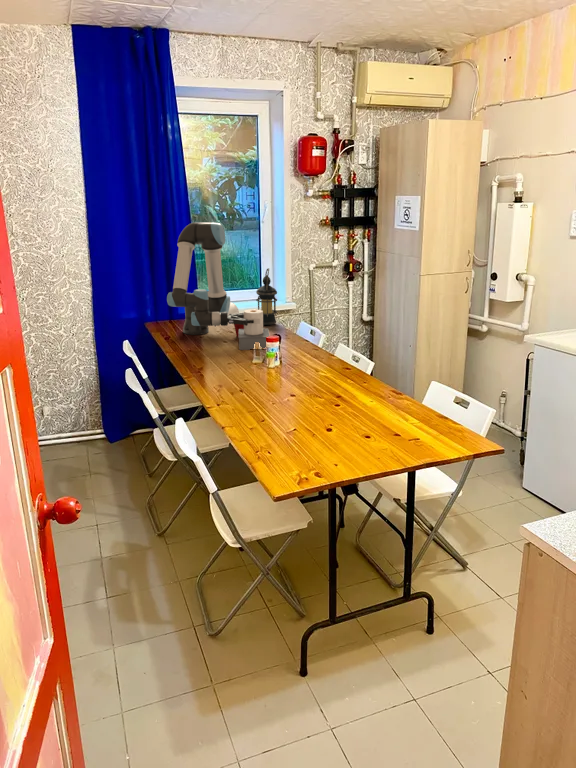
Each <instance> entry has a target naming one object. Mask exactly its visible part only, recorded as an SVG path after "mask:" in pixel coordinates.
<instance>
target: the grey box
mask: <svg viewBox="0 0 576 768" xmlns="http://www.w3.org/2000/svg"><path fill="white" fill-rule="evenodd" d="M268 336H270V331H269V328H263V333H262V334H259V335H248V334H245V333H244V329H239V336H238V337H237V338H238V347H239V348H238V349H239V350H240V351H246V350H247V351H251V350H250V349H253V348H254V344H255V342H259V343H260V346H261V347H262V348H265V347H266V337H268Z"/></svg>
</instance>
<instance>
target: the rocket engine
mask: <svg viewBox="0 0 576 768" xmlns="http://www.w3.org/2000/svg"><path fill="white" fill-rule="evenodd" d="M236 313H240V311H239V308H238V307H237V305H236V304H235V303H233V302H232V301H230V308H229V312H228V316H229V314H236Z"/></svg>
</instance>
